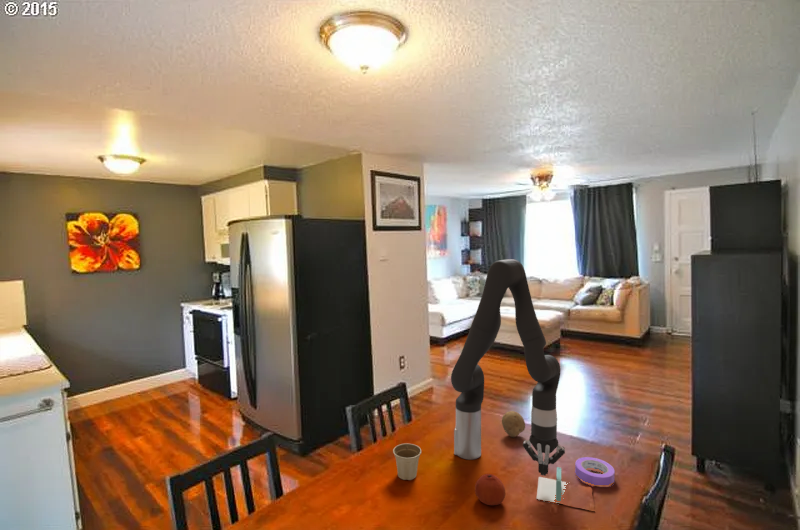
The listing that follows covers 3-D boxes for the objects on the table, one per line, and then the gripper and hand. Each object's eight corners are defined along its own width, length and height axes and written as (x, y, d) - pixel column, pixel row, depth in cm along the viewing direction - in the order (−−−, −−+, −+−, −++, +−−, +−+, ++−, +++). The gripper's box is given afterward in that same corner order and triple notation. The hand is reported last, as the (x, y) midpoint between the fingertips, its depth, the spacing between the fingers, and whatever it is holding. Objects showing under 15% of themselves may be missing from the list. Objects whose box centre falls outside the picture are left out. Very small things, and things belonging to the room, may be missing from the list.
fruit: (472, 492, 127) (472, 467, 127) (501, 492, 127) (501, 468, 126) (477, 511, 118) (477, 485, 118) (508, 511, 118) (508, 485, 118)
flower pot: (425, 471, 139) (425, 446, 138) (414, 486, 131) (414, 460, 130) (400, 464, 143) (400, 441, 142) (388, 479, 135) (388, 454, 134)
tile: (555, 500, 122) (556, 481, 122) (556, 485, 130) (556, 466, 129) (560, 501, 122) (561, 482, 121) (561, 486, 129) (561, 467, 129)
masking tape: (619, 490, 128) (619, 478, 127) (579, 486, 130) (579, 474, 130) (608, 469, 139) (608, 458, 139) (571, 466, 141) (572, 455, 141)
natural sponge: (515, 429, 168) (515, 405, 168) (530, 438, 160) (530, 414, 160) (497, 433, 165) (497, 409, 164) (511, 443, 157) (511, 418, 156)
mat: (536, 499, 123) (536, 498, 123) (538, 477, 134) (538, 476, 134) (595, 512, 117) (595, 511, 117) (592, 488, 128) (592, 487, 128)
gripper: (520, 422, 126) (520, 476, 127) (566, 429, 121) (566, 485, 122) (522, 412, 133) (522, 463, 134) (566, 418, 128) (566, 472, 129)
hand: (543, 474), depth 128 cm, fingers closed
